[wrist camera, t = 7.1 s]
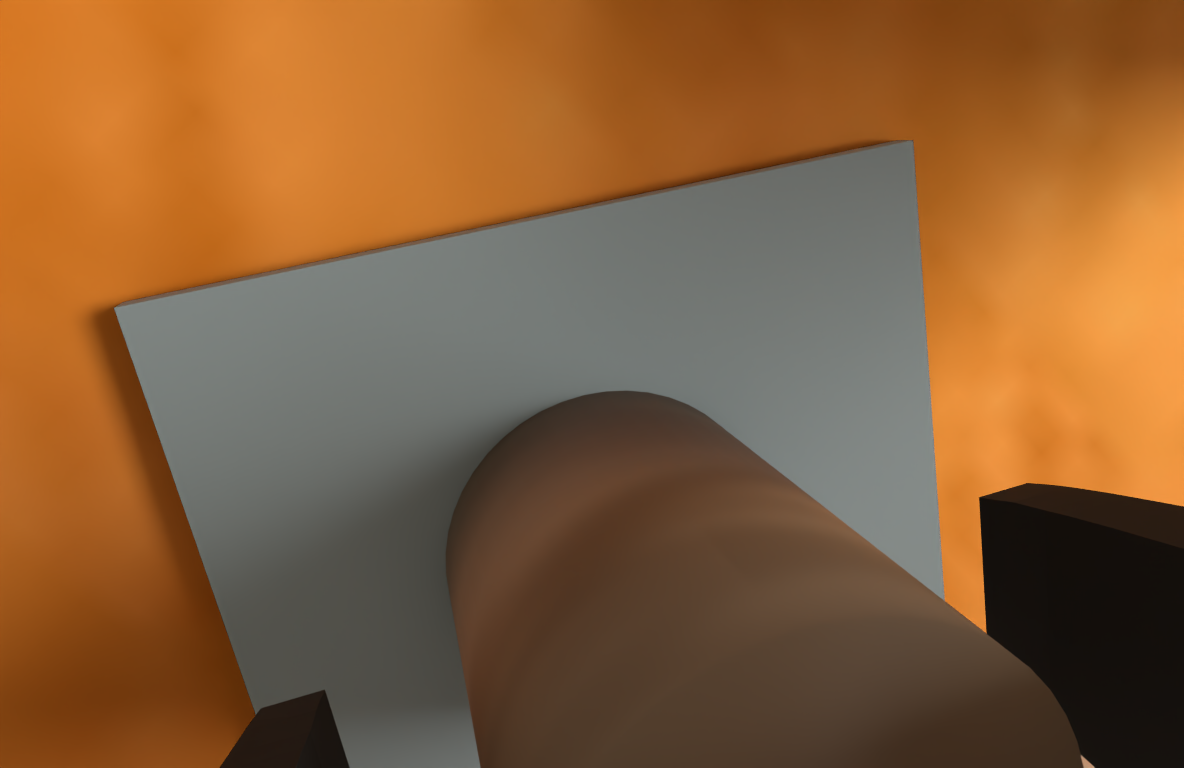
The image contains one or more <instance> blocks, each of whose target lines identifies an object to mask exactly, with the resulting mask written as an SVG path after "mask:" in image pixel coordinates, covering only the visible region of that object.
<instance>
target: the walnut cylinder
mask: <svg viewBox="0 0 1184 768" xmlns="http://www.w3.org/2000/svg"><path fill="white" fill-rule="evenodd" d="M446 577H447V583H448V588H449V594H450V600H451V606H452V611H453V617H454V622H455V628H456V633H457V639H458V645H459V650H460V656H461V661H462V667H463V672H464V678H465V684H466V689H467V695H468V700H469V706H470V711H471V717H472V723H473V728H474V734H475V739H476V745H477V751H478V756H479V762H480V767H481V768H1084V767H1083V763H1082V759H1081V755H1080V750H1079V746H1078V742H1077V739H1076V737H1075V735H1074V732H1073V730H1072V727H1071V725H1070V723H1069V720H1068V718H1067V715H1066V714H1065V712H1064V710H1063V709H1062V707H1061V706H1060V704H1059V703H1058V701H1057V699H1056V698H1055V696H1054V695H1053V693H1052V692H1051V690H1050V689H1049V688H1048V687H1047V686H1046V685H1045V683H1044V682H1043V681H1042V680H1041V679H1040V678H1039V677H1038V676H1037V675H1036V674H1035V673H1034V671H1033V670H1032V669H1031V668H1030V667H1028V666H1027V665H1026V664H1025V663H1023V662H1022V661H1021V660H1019V659H1018V658H1017V657H1016V656H1014V655H1013V654H1012V653H1011V652H1009V651H1008V650H1007V649H1005V648H1004V647H1003V646H1002V645H1000V644H999V643H998V642H996V641H995V640H994V639H993V638H991V637H990V636H989V635H987V634H986V633H985V632H984V631H982V630H981V629H980V628H979V627H977V626H976V625H975V624H973V623H972V622H971V621H970V620H968V619H967V618H966V617H964V616H963V615H962V614H961V613H959V612H958V611H957V610H955V609H954V608H953V607H952V606H950V605H949V604H948V603H947V602H945V601H944V600H943V599H941V598H940V597H939V596H938V595H936V594H935V593H934V592H932V591H931V590H930V589H929V588H927V587H926V586H925V585H924V584H922V583H921V582H920V581H918V580H917V579H916V578H915V577H913V576H912V575H911V574H909V573H908V572H907V571H906V570H904V569H903V568H902V567H900V566H899V565H898V564H897V563H895V562H894V561H893V560H892V559H890V558H889V557H888V556H886V555H885V554H884V553H883V552H881V551H880V550H879V549H877V548H876V547H875V546H874V545H872V544H871V543H870V542H869V541H867V540H866V539H865V538H863V537H862V536H861V535H860V534H858V533H857V532H856V531H854V530H853V529H852V528H851V527H849V526H848V525H847V524H845V523H844V522H843V521H842V520H840V519H839V518H838V517H837V516H835V515H834V514H833V513H831V512H830V511H829V510H828V509H826V508H825V507H824V506H822V505H821V504H820V503H819V502H817V501H816V500H815V499H813V498H812V497H811V496H810V495H808V494H807V493H806V492H805V491H803V490H802V489H801V488H799V487H798V486H797V485H796V484H794V483H793V482H792V481H790V480H789V479H788V478H787V477H785V476H784V475H783V474H782V473H780V472H779V471H778V470H776V469H775V468H774V467H773V466H771V465H770V464H769V463H767V462H766V461H765V460H764V459H762V458H761V457H760V456H758V455H757V454H756V453H755V452H753V451H752V450H751V449H750V448H748V447H747V446H746V445H744V444H743V443H742V442H741V441H739V440H738V439H737V438H735V437H734V436H733V435H732V434H730V433H729V432H728V431H726V430H725V429H724V428H723V427H721V426H720V425H719V424H717V423H716V422H715V421H714V420H712V419H711V418H710V417H708V416H707V415H706V414H704V413H702V412H701V411H699V410H697V409H695V408H693V407H692V406H690V405H688V404H685V403H683V402H680V401H678V400H675V399H672V398H670V397H666V396H662V395H657V394H653V393H649V392H638V391H605V392H599V393H594V394H588V395H583V396H580V397H576V398H573V399H570V400H566V401H563V402H561V403H558V404H556V405H554V406H552V407H549V408H547V409H545V410H543V411H541V412H539V413H537V414H536V415H534V416H532V417H531V418H529V419H528V420H526V421H524V422H523V423H521V424H520V425H519V426H517V427H516V428H515V429H513V430H512V431H511V432H510V433H508V434H507V435H506V436H505V437H503V438H502V439H501V440H500V441H499V442H498V443H497V444H496V445H495V446H494V447H493V448H492V449H491V451H490V452H489V453H488V454H487V455H486V456H485V457H484V459H483V460H482V461H481V463H480V464H479V465H478V467H477V468H476V469H475V470H474V472H473V473H472V475H471V477H470V479H469V480H468V482H467V484H466V486H465V487H464V489H463V491H462V493H461V495H460V498H459V500H458V502H457V505H456V507H455V510H454V512H453V516H452V520H451V524H450V527H449V531H448V538H447V546H446Z"/></svg>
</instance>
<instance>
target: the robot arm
mask: <svg viewBox="0 0 1184 768" xmlns="http://www.w3.org/2000/svg"><path fill="white" fill-rule="evenodd" d="M979 501H980V519H981V537H982V556H983V574H984V593H985V611H986V629H987V635H989V636H990V637H991V638H993V639H994V640H995V641H996V642H998V643H999V644H1000V645H1002V646H1003V647H1004V648H1005V649H1007V650H1008V651H1009V652H1011V653H1012V654H1013V655H1014V656H1016V657H1017V658H1018V659H1019V660H1021V661H1022V662H1023V663H1025V664H1026V665H1027V666H1028V667H1030V668H1031V669H1032V670H1033V671H1034V673H1035V674H1036V675H1037V676H1038V677H1039V678H1040V679H1041V680H1042V681H1043V682H1044V683H1045V685H1046V686H1047V687H1048V688H1049V689H1050V690H1051V692H1052V693H1053V695H1054V696H1055V698H1056V699H1057V701H1058V703H1059V704H1060V706H1061V707H1062V709H1063V710H1064V712H1065V714H1066V715H1067V718H1068V720H1069V723H1070V725H1071V727H1072V730H1073V732H1074V735H1075V737H1076V739H1077V742H1078V746H1079V750H1080V755H1082V756H1083V757H1084V758H1085V759H1086V760H1087V761H1088V762H1089V763H1091V764H1092V765H1093V766H1094V767H1095V768H1184V507H1183V506H1177V505H1172V504H1166V503H1161V502H1155V501H1150V500H1144V499H1139V498H1133V497H1128V496H1122V495H1116V494H1111V493H1104V492H1098V491H1092V490H1086V489H1079V488H1072V487H1064V486H1055V485H1045V484H1032V483H1026V484H1023V485H1020V486H1016V487H1013V488H1009V489H1006V490H1003V491H999V492H996V493H992V494H989V495H986V496H982V497H979ZM220 768H350V767H349V764H348V761H347V758H346V754H345V751H344V748H343V745H342V742H341V739H340V736H339V732H338V729H337V726H336V723H335V720H334V717H333V713H332V710H331V707H330V704H329V701H328V698H327V695H326V691H325V690H321V691H318V692H315V693H311V694H308V695H304V696H301V697H298V698H294V699H291V700H287V701H284V702H280V703H277V704H274V705H270V706H267V707H263V708H261V709H260V710H259V712H258V713H257V714H256V716H255V717H254V718H253V720H252V721H251V722H250V724H249V725H248V727H247V728H246V730H245V731H244V733H243V734H242V736H241V737H240V738H239V740H238V741H237V743H236V744H235V746H234V747H233V749H232V750H231V752H230V753H229V755H228V756H227V758H226V759H225V761H224V762H223V764H222V765H221V766H220Z"/></svg>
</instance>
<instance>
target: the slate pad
mask: <svg viewBox="0 0 1184 768" xmlns="http://www.w3.org/2000/svg"><path fill="white" fill-rule="evenodd" d="M114 310H115V312H116V315H117V318H118V321H119V324H120V327H121V330H122V333H123V335H124V338H125V341H126V344H127V347H128V350H129V353H130V355H131V358H132V361H133V364H134V367H135V370H136V373H137V376H138V378H139V381H140V384H141V387H142V390H143V393H144V396H145V398H146V401H147V404H148V407H149V410H150V413H151V416H152V419H153V421H154V424H155V427H156V430H157V433H158V436H159V439H160V442H161V444H162V447H163V450H164V453H165V456H166V459H167V462H168V464H169V467H170V470H171V473H172V476H173V479H174V482H175V485H176V487H177V490H178V493H179V496H180V499H181V502H182V505H183V507H184V510H185V513H186V516H187V519H188V522H189V525H190V528H191V530H192V533H193V536H194V539H195V542H196V545H197V548H198V550H199V553H200V556H201V559H202V562H203V565H204V568H205V571H206V573H207V576H208V579H209V582H210V585H211V588H212V591H213V593H214V596H215V599H216V602H217V605H218V608H219V611H220V614H221V616H222V619H223V622H224V625H225V628H226V631H227V634H228V636H229V639H230V642H231V645H232V648H233V651H234V654H235V657H236V659H237V662H238V665H239V668H240V671H241V674H242V677H243V680H244V682H245V685H246V688H247V691H248V694H249V697H250V700H251V702H252V705H253V708H254V711H255V714H257V713H258V712H259V710H260V709H261V708H263V707H267V706H270V705H274V704H277V703H280V702H284V701H287V700H291V699H294V698H298V697H301V696H304V695H308V694H311V693H315V692H318V691H321V690H325V691H326V695H327V698H328V701H329V704H330V707H331V710H332V713H333V717H334V720H335V723H336V726H337V729H338V732H339V736H340V739H341V742H342V745H343V748H344V751H345V754H346V758H347V761H348V764H349V767H350V768H481V767H480V762H479V756H478V751H477V745H476V739H475V734H474V728H473V723H472V717H471V711H470V706H469V700H468V695H467V689H466V684H465V678H464V672H463V667H462V661H461V656H460V650H459V645H458V639H457V633H456V628H455V622H454V617H453V611H452V606H451V600H450V594H449V588H448V583H447V577H446V546H447V538H448V531H449V527H450V524H451V520H452V516H453V512H454V510H455V507H456V505H457V502H458V500H459V498H460V495H461V493H462V491H463V489H464V487H465V486H466V484H467V482H468V480H469V479H470V477H471V475H472V473H473V472H474V470H475V469H476V468H477V467H478V465H479V464H480V463H481V461H482V460H483V459H484V457H485V456H486V455H487V454H488V453H489V452H490V451H491V449H492V448H493V447H494V446H495V445H496V444H497V443H498V442H499V441H500V440H501V439H502V438H503V437H505V436H506V435H507V434H508V433H510V432H511V431H512V430H513V429H515V428H516V427H517V426H519V425H520V424H521V423H523V422H524V421H526V420H528V419H529V418H531V417H532V416H534V415H536V414H537V413H539V412H541V411H543V410H545V409H547V408H549V407H552V406H554V405H556V404H558V403H561V402H563V401H566V400H570V399H573V398H576V397H580V396H583V395H588V394H594V393H599V392H605V391H638V392H649V393H653V394H657V395H662V396H666V397H670V398H672V399H675V400H678V401H680V402H683V403H685V404H688V405H690V406H692V407H693V408H695V409H697V410H699V411H701V412H702V413H704V414H706V415H707V416H708V417H710V418H711V419H712V420H714V421H715V422H716V423H717V424H719V425H720V426H721V427H723V428H724V429H725V430H726V431H728V432H729V433H730V434H732V435H733V436H734V437H735V438H737V439H738V440H739V441H741V442H742V443H743V444H744V445H746V446H747V447H748V448H750V449H751V450H752V451H753V452H755V453H756V454H757V455H758V456H760V457H761V458H762V459H764V460H765V461H766V462H767V463H769V464H770V465H771V466H773V467H774V468H775V469H776V470H778V471H779V472H780V473H782V474H783V475H784V476H785V477H787V478H788V479H789V480H790V481H792V482H793V483H794V484H796V485H797V486H798V487H799V488H801V489H802V490H803V491H805V492H806V493H807V494H808V495H810V496H811V497H812V498H813V499H815V500H816V501H817V502H819V503H820V504H821V505H822V506H824V507H825V508H826V509H828V510H829V511H830V512H831V513H833V514H834V515H835V516H837V517H838V518H839V519H840V520H842V521H843V522H844V523H845V524H847V525H848V526H849V527H851V528H852V529H853V530H854V531H856V532H857V533H858V534H860V535H861V536H862V537H863V538H865V539H866V540H867V541H869V542H870V543H871V544H872V545H874V546H875V547H876V548H877V549H879V550H880V551H881V552H883V553H884V554H885V555H886V556H888V557H889V558H890V559H892V560H893V561H894V562H895V563H897V564H898V565H899V566H900V567H902V568H903V569H904V570H906V571H907V572H908V573H909V574H911V575H912V576H913V577H915V578H916V579H917V580H918V581H920V582H921V583H922V584H924V585H925V586H926V587H927V588H929V589H930V590H931V591H932V592H934V593H935V594H936V595H938V596H939V597H940V598H941V599H943V600H944V601H945V599H944V585H943V570H942V555H941V541H940V526H939V511H938V497H937V482H936V468H935V453H934V438H933V424H932V409H931V394H930V380H929V365H928V351H927V336H926V321H925V307H924V292H923V277H922V263H921V248H920V233H919V219H918V204H917V190H916V175H915V160H914V146H913V140H897V141H891V142H887V143H882V144H877V145H872V146H867V147H863V148H858V149H853V150H848V151H844V152H839V153H834V154H829V155H824V156H820V157H815V158H810V159H805V160H801V161H796V162H791V163H786V164H781V165H777V166H772V167H767V168H762V169H757V170H753V171H748V172H743V173H738V174H734V175H729V176H724V177H719V178H714V179H710V180H705V181H700V182H695V183H691V184H686V185H681V186H676V187H671V188H667V189H662V190H657V191H652V192H647V193H643V194H638V195H633V196H628V197H624V198H619V199H614V200H609V201H604V202H600V203H595V204H590V205H585V206H581V207H576V208H571V209H566V210H561V211H557V212H552V213H547V214H542V215H537V216H533V217H528V218H523V219H518V220H514V221H509V222H504V223H499V224H494V225H490V226H485V227H480V228H475V229H471V230H466V231H461V232H456V233H451V234H447V235H442V236H437V237H432V238H427V239H423V240H418V241H413V242H408V243H404V244H399V245H394V246H389V247H384V248H380V249H375V250H370V251H365V252H361V253H356V254H351V255H346V256H341V257H337V258H332V259H327V260H322V261H317V262H313V263H308V264H303V265H298V266H294V267H289V268H284V269H279V270H274V271H270V272H265V273H260V274H255V275H251V276H246V277H241V278H236V279H231V280H227V281H222V282H217V283H212V284H207V285H203V286H198V287H193V288H188V289H184V290H179V291H174V292H169V293H164V294H160V295H155V296H150V297H145V298H141V299H136V300H131V301H126V302H123V303H121V304H119V305H118V306H116V307H115V308H114Z"/></svg>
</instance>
